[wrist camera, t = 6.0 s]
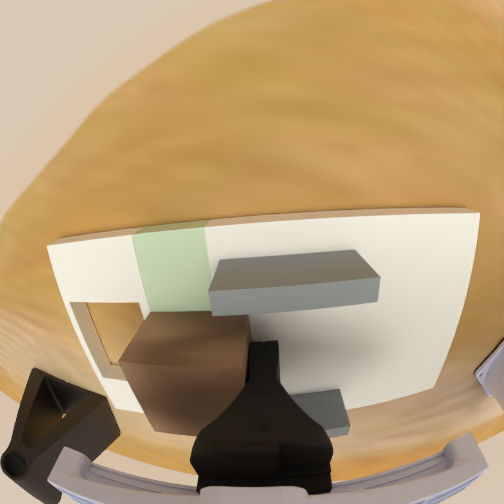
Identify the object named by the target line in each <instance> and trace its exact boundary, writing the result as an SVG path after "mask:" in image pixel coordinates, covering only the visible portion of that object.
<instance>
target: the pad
mask: <svg viewBox="0 0 504 504" xmlns="http://www.w3.org/2000/svg"><path fill="white" fill-rule="evenodd" d="M208 222H209V220H201V221H191V222H181V223H172V224H163V225H154V226H145V227H143V228H141V229H139V230H138V231H136V232H135V233H133V234H132V237H133V242H134V247H135V252H136V256H137V261H138V265H139V269H140V274H141V278H142V282H143V286H144V289H145V293H146V297H147V301H148V304H149V308H150V311H151V312H185V311H212V310H211V305H210V299H209V294H208V290H209V287H210V285H211V282H212V278H211V272H210V265H209V259H208V252H207V245H206V238H205V231H204V227H205V225H206V224H207V223H208Z"/></svg>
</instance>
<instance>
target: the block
mask: <svg viewBox="0 0 504 504" xmlns="http://www.w3.org/2000/svg"><path fill="white" fill-rule="evenodd" d="M250 342H252V340H251V331H250V322H249V314H246V315H226V316H212V311H185V312H150V313H149V315H148V316H147V318H146V319H145V321H144V322H143V324H142V325H141V327H140V328H139V330H138V331H137V333H136V334H135V336H134V337H133V339H132V340H131V342H130V343H129V345H128V347H127V348H126V350H125V351H124V353H123V354H122V356H121V358H120V359H119V361H118V362H119V365H120V367H121V369H122V371H123V373H124V375H125V377H126V379H127V381H128V383H129V385H130V387H131V389H132V391H133V393H134V395H135V397H136V399H137V401H138V402H139V404H140V406H141V408H142V410H143V412H144V413H145V415H146V417H147V418H148V420H149V422H150V424H151V425H152V427H153V429H154V430H155V431H157V432H163V433H171V434H179V435H188V436H198V434H199V432H200V430H202V429H203V428H204V427H206V426H207V425H208V424H210V423H211V422H212V421H214V420H215V419H216V418H217V417H218V416H219V415H220V414H221V413H222V412H223V411H224V410H225V409H226V408H227V407H228V406H229V405H230V404H231V403H232V402H233V401H234V399H235V398H236V397H237V396H238V394H239V393H240V392H241V390H242V389H243V388H244V386H245V385H246V383H247V381H248V380H249V378H250V372H249V356H248V351H249V345H250Z"/></svg>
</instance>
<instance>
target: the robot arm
mask: <svg viewBox="0 0 504 504" xmlns="http://www.w3.org/2000/svg"><path fill="white" fill-rule="evenodd" d="M248 356H249V372H250V378H249V380H248V381H247V383H246V385H245V386H244V388H243V389H242V390H241V392H240V393H239V394H238V396H237V397H236V398H235V399H234V401H233V402H232V403H231V404H230V405H229V406H228V407H227V408H226V409H225V410H224V411H223V412H222V413H221V414H220V415H219V416H218V417H217V418H216V419H215V420H214V421H212V422H211V423H210V424H208V425H207V426H206V427H204V428H203V429H202V430H200V432H199V434H198V436H197V438H196V440H195V442H194V445H193V448H192V452H191V457H190V463H191V465H192V466H193V468H194V469H195V471H196V473H197V474H198V476H199V477H198V484H197V487H194V486H186V485H180V484H173V483H167V482H162V481H157V480H152V479H147V478H143V477H139V476H135V475H131V474H127V473H124V472H120V471H116V470H113V469H110V468H107V467H104V466H101V465H98V464H95V463H92V462H91V461H90V459H89V458H88V457H86V456H85V455H84V454H82V453H80V452H78V451H75V450H73V449H70V448H68V447H64V448H63V450H62V452H61V453H60V455H59V457H58V459H57V461H56V463H55V465H54V467H53V469H52V471H51V473H50V475H49V477H48V479H47V480H48V482H49V483H51V484H52V485H53V486H54V487H56V488H57V489H58V490H60V491H61V492H62V493H64V494H65V495H67V496H68V497H70V498H71V499H72V500H74V501H75V502H78V503H80V504H438V503H440V502H442V501H444V500H445V499H447V498H449V497H451V496H453V495H455V494H457V493H459V492H461V491H462V490H463V489H465V488H466V487H467V486H469V485H470V484H471V483H472V482H474V481H475V480H476V479H477V478H478V477H479V476H480V475H482V474H483V473H484V472H485V471H486V470H487V469H488V467H489V466H488V465H487V463H486V460H485V458H484V456H483V454H482V452H481V450H480V448H479V446H478V444H477V442H476V440H475V438H474V437H473V435H472V433H471V432H468V433H466V434H464V435H462V436H460V437H458V438H456V439H454V440H452V441H451V442H449V443H448V444H447V445H446V446H445V447H444V449H443V451H440V452H438V453H436V454H433V455H431V456H429V457H426V458H423V459H421V460H418V461H416V462H413V463H410V464H407V465H404V466H401V467H398V468H395V469H392V470H388V471H385V472H381V473H378V474H374V475H370V476H366V477H362V478H358V479H353V480H348V481H343V482H338V483H332V482H331V475H330V473H331V467H330V461H331V458H332V455H333V446H332V444H331V441H330V439H329V437H328V435H327V433H326V431H325V430H324V428H323V426H321V425H320V424H319V423H317V422H316V421H315V420H313V419H312V418H311V417H310V416H309V415H308V414H307V413H306V412H304V411H303V410H302V409H301V407H300V406H299V405H298V404H297V403H296V402H295V401H294V400H293V399H292V398H291V396H290V395H289V394H288V392H287V391H286V390H285V388H284V387H283V385H282V384H281V382H280V361H279V344H278V340H273V341H265V342H263V341H255V342H250V345H249V351H248ZM475 376H476V378H477V379H478V381H479V382H480V384H481V386H482V387H483V389H484V390H485V392H486V394H487V395H488V397H489V398H491V397H493V396H494V397H495V398H496V400H497V401H498V403H499V404H500V406H501V407H502V409H503V410H504V340H503V341H502V343H501V344H500V345H499V346H498V347H497V349H496V350H495V351H494V352H493V353H492V354H491V355H490V357H489V358H488V359H487V360H486V361H485V362H484V363H483V364H482V365H481V366H480V367H479V368H478V369H477V370H476V372H475Z"/></svg>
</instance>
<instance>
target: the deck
mask: <svg viewBox="0 0 504 504" xmlns="http://www.w3.org/2000/svg"><path fill="white" fill-rule="evenodd" d="M479 218H480V213H478V212H475V211H473V210H470V209H467V208H386V209H358V210H336V211H317V212H300V213H285V214H271V215H257V216H245V217H233V218H222V219H211V220H209V222H208V223H207V224H206V225H205V227H204V231H205V238H206V245H207V252H208V259H209V265H210V272H211V278H212V282H211V285H210V287H209V290H208V294H209V299H210V305H211V310H212V316H226V315H246V314H249V322H250V331H251V340H252V342H255V341H263V342H265V341H273V340H278V344H279V361H280V382H281V384H282V385H283V387H284V388H285V390H286V391H287V392H288V394H289V395H290V396H291V398H292V399H293V400H294V401H295V402H296V403H297V404H298V405H299V406H300V407H301V409H302V410H303V411H304V412H306V413H307V414H308V415H309V416H310V417H311V418H312V419H313V420H315V421H316V422H317V423H319V424H320V425H321V426H323V428H324V430H325V431H326V433H327V435H328V437H329V438H331V437H337V436H343V435H347V434H348V431H349V428H350V423H349V420H348V416H347V413H346V410H349V409H354V408H359V407H364V406H369V405H373V404H378V403H382V402H386V401H390V400H394V399H398V398H401V397H405V396H408V395H412V394H415V393H418V392H422V391H425V390H428V389H431V388H433V387H434V385H435V383H436V381H437V379H438V376H439V374H440V372H441V369H442V367H443V364H444V362H445V359H446V357H447V354H448V352H449V349H450V346H451V344H452V341H453V338H454V335H455V332H456V329H457V326H458V323H459V319H460V316H461V313H462V309H463V306H464V302H465V298H466V294H467V290H468V286H469V281H470V277H471V272H472V267H473V262H474V256H475V250H476V243H477V236H478V228H479ZM141 228H143V227H137V228H129V229H121V230H114V231H106V232H99V233H92V234H85V235H78V236H71V237H65V238H61V239H59V240H57V241H55V242H53V243H51V244H49V245H47V249H48V253H49V257H50V260H51V264H52V267H53V271H54V274H55V277H56V280H57V283H58V286H59V289H60V292H61V295H62V298H63V301H64V304H65V306H66V309H67V312H68V314H69V317H70V319H71V322H72V324H73V326H74V329H75V331H76V333H77V336H78V338H79V340H80V342H81V345H82V347H83V349H84V351H85V353H86V355H87V357H88V359H89V361H90V363H91V365H92V367H93V369H94V371H95V373H96V375H97V377H98V379H99V380H100V382H101V384H102V386H103V388H104V389H105V391H106V393H107V394H108V396H109V398H110V400H111V401H112V403H113V404H114V406H115V408H117V409H122V410H128V411H134V412H140V413H144V412H143V410H142V408H141V406H140V404H139V402H138V401H137V399H136V397H135V395H134V393H133V391H132V389H131V387H130V385H129V383H128V381H127V379H126V377H125V375H124V373H123V371H122V369H121V367H120V365H113V364H111V363H110V361H109V359H108V356H107V354H106V352H105V350H104V348H103V345H102V343H101V341H100V338H99V336H98V333H97V331H96V328H95V326H94V323H93V321H92V318H91V316H90V313H89V310H88V307H87V305H86V302H139V304H140V308H141V311H142V314H143V317H144V321H145V319H146V318H147V316H148V315H149V313H150V312H151V311H150V308H149V304H148V301H147V297H146V293H145V289H144V286H143V282H142V278H141V274H140V269H139V265H138V261H137V256H136V252H135V247H134V242H133V237H132V234H133V233H135V232H136V231H138V230H139V229H141Z"/></svg>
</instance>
